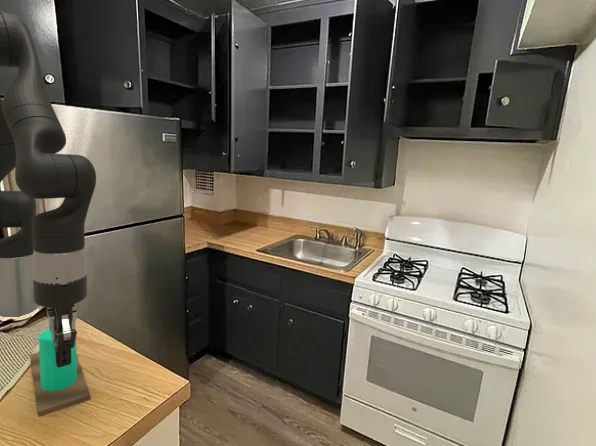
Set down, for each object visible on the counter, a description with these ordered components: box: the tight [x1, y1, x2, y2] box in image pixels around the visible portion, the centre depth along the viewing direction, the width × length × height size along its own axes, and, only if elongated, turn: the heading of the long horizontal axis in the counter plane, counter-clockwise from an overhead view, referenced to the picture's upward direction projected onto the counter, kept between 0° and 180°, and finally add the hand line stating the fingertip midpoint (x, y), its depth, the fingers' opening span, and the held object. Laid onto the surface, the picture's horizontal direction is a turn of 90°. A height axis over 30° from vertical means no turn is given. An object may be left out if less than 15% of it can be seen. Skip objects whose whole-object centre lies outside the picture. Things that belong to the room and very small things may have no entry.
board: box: [29, 352, 91, 417], centre depth 70 cm, size 20×8×1 cm, turn 40°
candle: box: [38, 328, 77, 391], centre depth 67 cm, size 6×6×12 cm
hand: (63, 364), depth 62 cm, fingers closed
